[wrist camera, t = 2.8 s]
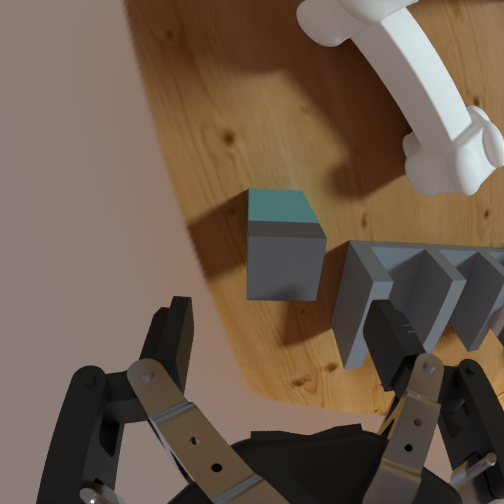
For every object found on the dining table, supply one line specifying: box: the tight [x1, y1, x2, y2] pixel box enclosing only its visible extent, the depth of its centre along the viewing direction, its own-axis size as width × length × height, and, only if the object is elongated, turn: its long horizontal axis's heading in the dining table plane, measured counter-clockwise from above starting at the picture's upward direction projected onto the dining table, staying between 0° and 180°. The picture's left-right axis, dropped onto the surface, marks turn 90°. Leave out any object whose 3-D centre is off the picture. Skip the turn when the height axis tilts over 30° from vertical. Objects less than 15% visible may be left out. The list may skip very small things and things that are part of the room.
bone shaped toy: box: [296, 0, 504, 196], centre depth 14 cm, size 15×9×8 cm, turn 40°
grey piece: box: [331, 241, 504, 369], centre depth 24 cm, size 23×9×6 cm, turn 88°
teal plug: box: [247, 189, 327, 301], centre depth 20 cm, size 4×4×8 cm
